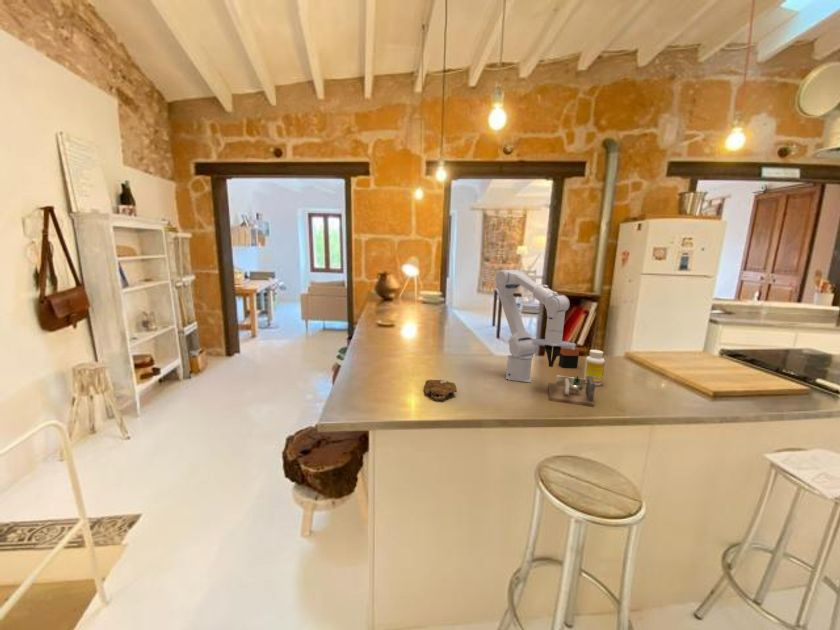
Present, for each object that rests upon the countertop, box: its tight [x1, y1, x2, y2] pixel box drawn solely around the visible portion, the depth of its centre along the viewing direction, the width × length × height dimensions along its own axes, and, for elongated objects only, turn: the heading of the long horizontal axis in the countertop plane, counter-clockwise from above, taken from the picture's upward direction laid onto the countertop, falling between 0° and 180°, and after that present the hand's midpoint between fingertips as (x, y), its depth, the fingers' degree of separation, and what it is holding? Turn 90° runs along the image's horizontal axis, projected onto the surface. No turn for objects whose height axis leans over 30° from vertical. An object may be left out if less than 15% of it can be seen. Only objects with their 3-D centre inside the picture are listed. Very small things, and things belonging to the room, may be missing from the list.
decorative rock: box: [423, 379, 458, 401], centre depth 132 cm, size 11×4×15 cm
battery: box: [558, 344, 580, 369], centre depth 166 cm, size 4×7×10 cm, turn 93°
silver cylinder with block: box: [564, 376, 582, 395], centre depth 134 cm, size 6×10×4 cm, turn 162°
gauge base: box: [548, 375, 596, 407], centre depth 134 cm, size 14×15×7 cm
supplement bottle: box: [583, 349, 606, 386], centre depth 146 cm, size 7×7×13 cm
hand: (550, 366), depth 137 cm, fingers closed
